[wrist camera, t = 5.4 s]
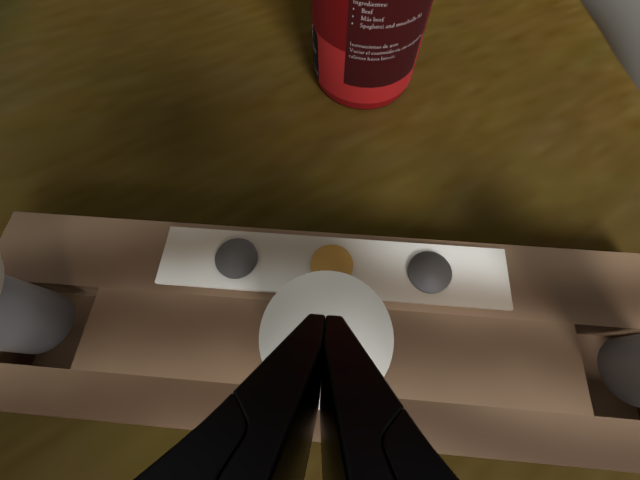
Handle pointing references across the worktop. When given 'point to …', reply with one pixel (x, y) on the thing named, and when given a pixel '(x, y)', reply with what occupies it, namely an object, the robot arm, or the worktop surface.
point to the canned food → (366, 48)
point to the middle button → (330, 313)
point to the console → (383, 278)
